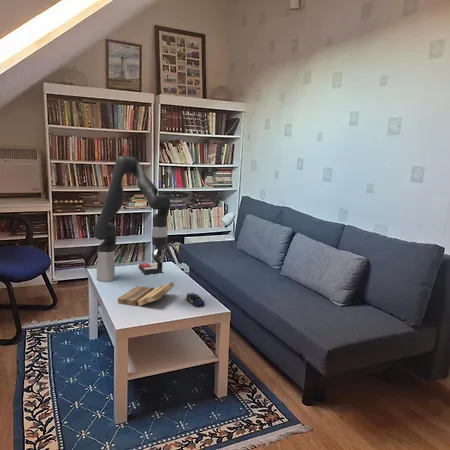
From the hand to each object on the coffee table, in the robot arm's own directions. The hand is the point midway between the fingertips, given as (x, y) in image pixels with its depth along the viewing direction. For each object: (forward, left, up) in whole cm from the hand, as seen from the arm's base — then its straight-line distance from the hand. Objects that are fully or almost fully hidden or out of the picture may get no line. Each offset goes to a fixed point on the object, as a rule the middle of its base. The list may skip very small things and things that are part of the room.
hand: (159, 269), depth 200 cm
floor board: (-12, -1, -16) cm, 20 cm away
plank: (0, -1, -14) cm, 14 cm away
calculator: (-26, +44, -17) cm, 54 cm away
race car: (+19, +3, -17) cm, 25 cm away
